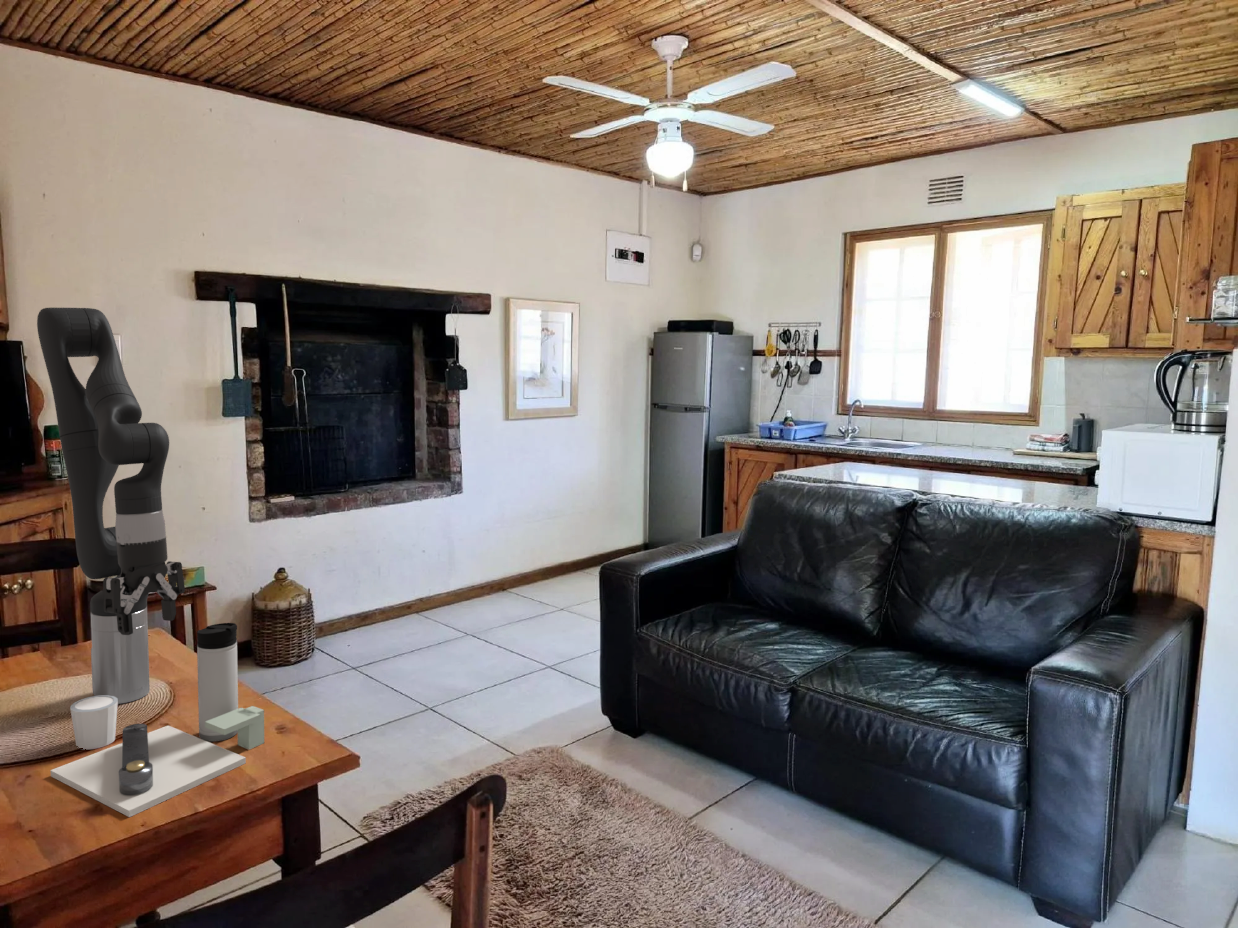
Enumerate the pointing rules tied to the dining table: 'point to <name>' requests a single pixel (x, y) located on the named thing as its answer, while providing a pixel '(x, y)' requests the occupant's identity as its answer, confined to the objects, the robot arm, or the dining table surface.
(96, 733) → the white cup
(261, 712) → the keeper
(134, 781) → the link
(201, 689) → the travel mug
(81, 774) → the base plate
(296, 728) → the dining table surface
